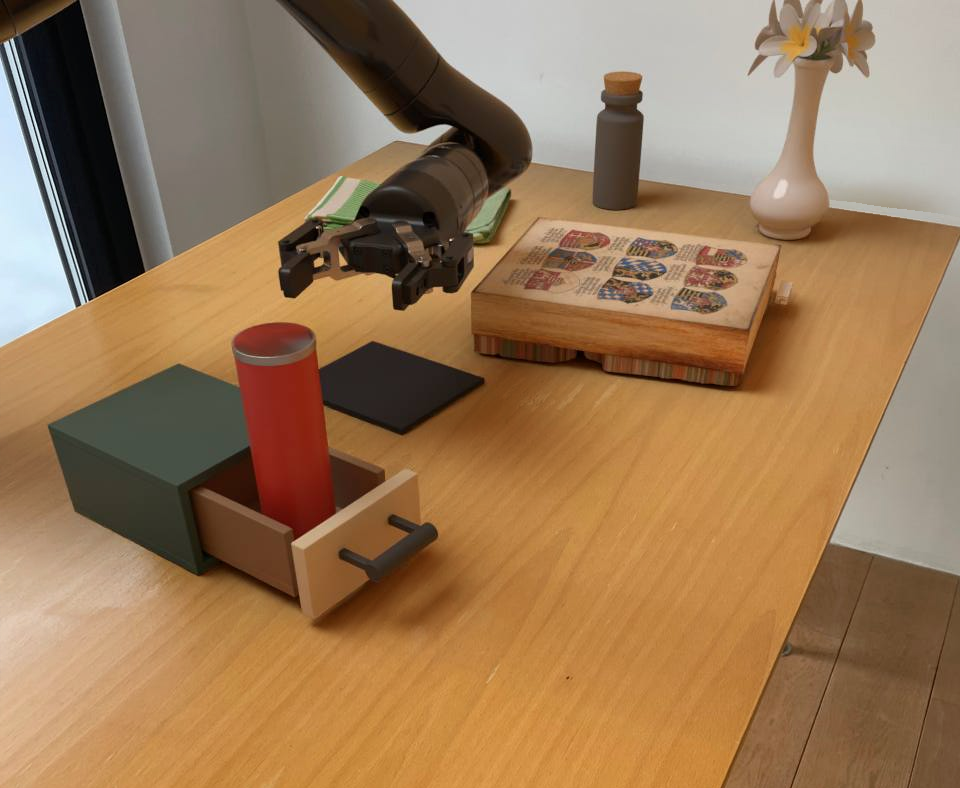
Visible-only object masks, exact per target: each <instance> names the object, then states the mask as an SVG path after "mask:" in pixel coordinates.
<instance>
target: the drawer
mask: <svg viewBox="0 0 960 788" xmlns="http://www.w3.org/2000/svg"><path fill="white" fill-rule="evenodd" d="M328 449H329V457H330V465H331V473H332V481H333V490H334V498H335V506H336V514H335V515H333V516H332V517H330V518H329V519H327V520H326V521H324V522H323V523H321V524H320V525H318V526H317V527H315V528H314V529H312V530H311V531H309V532H307V533H306V534H304V535H303V536H301V537H300V538H298V539H297V540H295V541H294V536H293V529H292V528H290V527H288V526H286V525H284V524H282V523H279V522H277V521H275V520H273V519H271V518H269V517H266V516H264V515H262V510H261V505H260V499H259V493H258V488H257V482H256V477H255V471H254V465H253V460H252V455H251V456H249V457H247V458H245V459H244V460H242V461H240V462H238V463H237V464H235V465H233V466H231V467H229V468H228V469H226V470H224V471H222V472H221V473H219V474H217V475H215V476H214V477H212V478H210V479H208V480H207V481H205V482H203V483H201V484H199V485H198V486H196V487H194V488H192V489H191V490H189V491H188V494H189V498H190V502H191V507H192V511H193V516H194V520H195V524H196V529H197V533H198V537H199V542H200V546H201V550H202V551H204V552H206V553H208V554H210V555H212V556H214V557H216V558H218V559H220V560H222V561H221V562H223V563H226V564H228V565H230V566H232V567H234V568H236V569H238V570H240V571H242V572H244V573H245V574H248V575H250V576H252V577H253V578H256V579H258V580H260V581H261V582H264V583H266V584H267V585H269V586H271V587H273V588H276V590H280V591H281V592H283V593H285V594H287V595H289V596H291V597H292V598H296V597H297V596H299V601H300V607H301V613H302V614H303V615H305V616H307V617H308V618H311V619H313V620H316V619H317V618H318V617H320V616H322V614H324V613H325V612H326V611H328V610H329V609H331V608H332V607H334V606H335V605H337V603H339V602H341V601H342V600H343V599H344V598H346V597H347V596H348V595H350V594H352V592H354V591H355V590H357V589H358V588H360V587H361V586H362V585H364V584H365V583H367V582H368V581H369V580H370V581H371V582H373V583H380V582H381V581H384V579H386V578H387V577H388V576H390V575H391V574H392V573H394V572H395V571H396V570H397V569H399V568H400V567H402V566H403V565H405V564H406V563H408V561H410V560H411V559H412V558H413V557H415V556H417V555H418V554H420V553H421V552H422V551H423V550H425V549H426V548H428V547H429V546H431V544H433V543H434V542H436V540H438V538H439V531H438V529H437V527H436V526H435V525H434V524H433V523H431V522H428V521H426V522H423V523H422V520H421V505H420V502H421V501H420V487H419V486H420V485H419V474H418V473H417V472H416V471H414V470H410V469H408V468H404V469H402V470H400V471H399V472H397V473H396V474H395V475H393V476H391V477H390V478H388V479H387V480H386V469H385V468H384V467H380V466H379V465H376V464H373V463H371V462H368V461H366V460H363V459H361V458H358V457H356V456H354V455H351V454H348V453H346V452H344V451H341V450H338V449H337V448H334V447H331V446H329V445H328Z"/></svg>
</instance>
